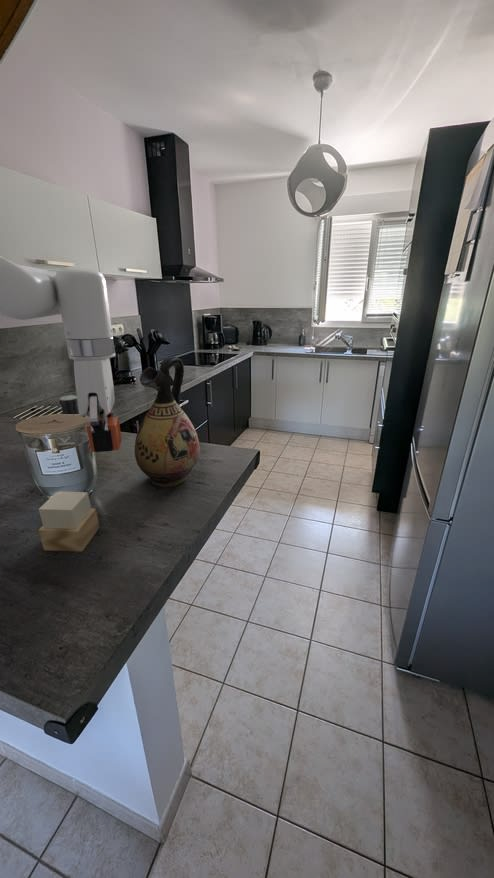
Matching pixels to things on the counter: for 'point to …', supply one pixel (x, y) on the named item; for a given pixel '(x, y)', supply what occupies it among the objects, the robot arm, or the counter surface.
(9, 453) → the counter surface
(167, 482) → the ceramic jug
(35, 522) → the counter surface
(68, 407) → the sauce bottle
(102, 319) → the robot arm
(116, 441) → the toy cube
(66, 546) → the base block
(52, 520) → the middle block
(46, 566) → the counter surface
